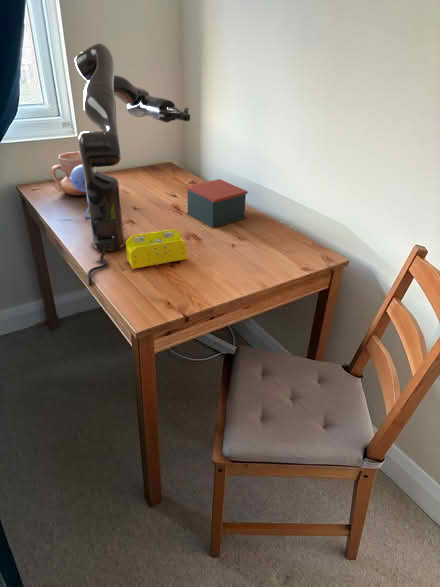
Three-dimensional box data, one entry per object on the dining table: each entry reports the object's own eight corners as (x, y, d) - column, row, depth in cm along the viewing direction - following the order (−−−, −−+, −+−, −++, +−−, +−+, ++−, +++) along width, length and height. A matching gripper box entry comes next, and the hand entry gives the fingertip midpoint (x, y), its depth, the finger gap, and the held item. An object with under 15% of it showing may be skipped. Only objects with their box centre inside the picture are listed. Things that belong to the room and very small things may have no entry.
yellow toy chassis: (180, 253, 135) (179, 227, 131) (187, 261, 131) (186, 235, 126) (127, 262, 130) (124, 235, 125) (132, 271, 125) (129, 244, 121)
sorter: (244, 218, 159) (245, 193, 154) (212, 227, 151) (213, 201, 146) (218, 205, 168) (219, 181, 163) (187, 213, 161) (187, 189, 156)
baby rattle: (76, 223, 151) (68, 170, 142) (76, 214, 158) (68, 162, 149) (103, 221, 153) (96, 168, 144) (101, 212, 160) (95, 160, 151)
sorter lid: (247, 193, 153) (247, 191, 153) (214, 202, 146) (214, 199, 145) (219, 181, 163) (219, 178, 163) (187, 189, 156) (187, 186, 155)
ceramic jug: (99, 183, 185) (95, 148, 177) (106, 195, 174) (101, 158, 166) (53, 188, 179) (46, 152, 171) (56, 201, 168) (50, 162, 160)
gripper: (144, 100, 160) (171, 108, 149) (175, 96, 167) (204, 104, 156) (145, 122, 164) (172, 131, 153) (176, 118, 171) (203, 127, 160)
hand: (188, 117), depth 154 cm, fingers closed
